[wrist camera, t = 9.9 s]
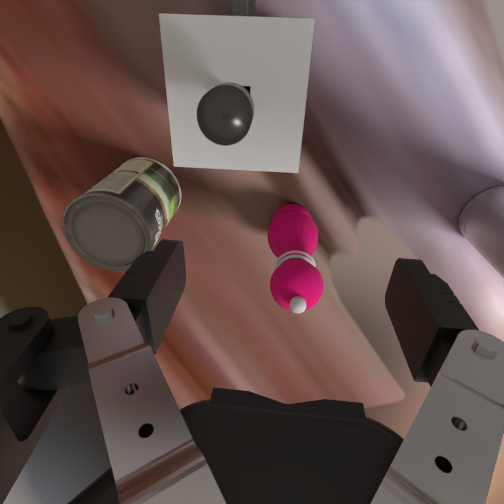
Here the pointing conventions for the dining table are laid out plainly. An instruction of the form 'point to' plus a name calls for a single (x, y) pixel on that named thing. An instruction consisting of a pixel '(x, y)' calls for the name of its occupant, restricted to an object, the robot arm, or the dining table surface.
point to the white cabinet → (245, 74)
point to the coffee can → (122, 214)
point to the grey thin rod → (226, 113)
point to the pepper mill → (294, 259)
